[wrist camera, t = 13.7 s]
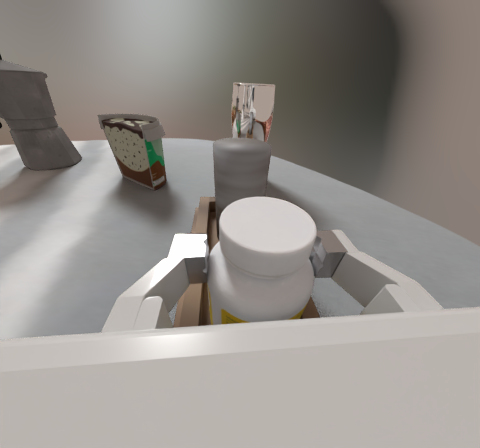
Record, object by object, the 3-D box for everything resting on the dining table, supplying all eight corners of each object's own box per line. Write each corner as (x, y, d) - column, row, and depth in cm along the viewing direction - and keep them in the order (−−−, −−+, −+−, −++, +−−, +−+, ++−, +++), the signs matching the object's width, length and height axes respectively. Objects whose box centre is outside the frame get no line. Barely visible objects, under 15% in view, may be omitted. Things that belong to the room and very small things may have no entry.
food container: (187, 180, 34) (179, 120, 28) (160, 193, 30) (143, 125, 24) (146, 165, 40) (132, 111, 33) (118, 174, 35) (95, 114, 29)
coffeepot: (64, 151, 44) (11, 49, 33) (99, 155, 43) (57, 51, 32) (-16, 176, 32) (-141, 28, 21) (31, 182, 31) (-74, 31, 20)
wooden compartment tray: (360, 435, 10) (616, 382, 3) (151, 464, 9) (-53, 467, 2) (271, 211, 27) (285, 132, 21) (196, 212, 26) (186, 129, 20)
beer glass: (267, 182, 35) (282, 85, 26) (231, 182, 35) (233, 82, 26) (260, 169, 41) (270, 84, 32) (229, 168, 40) (230, 82, 31)
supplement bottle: (302, 338, 13) (366, 232, 7) (240, 397, 10) (258, 309, 4) (254, 283, 16) (270, 181, 11) (199, 317, 14) (178, 207, 8)
